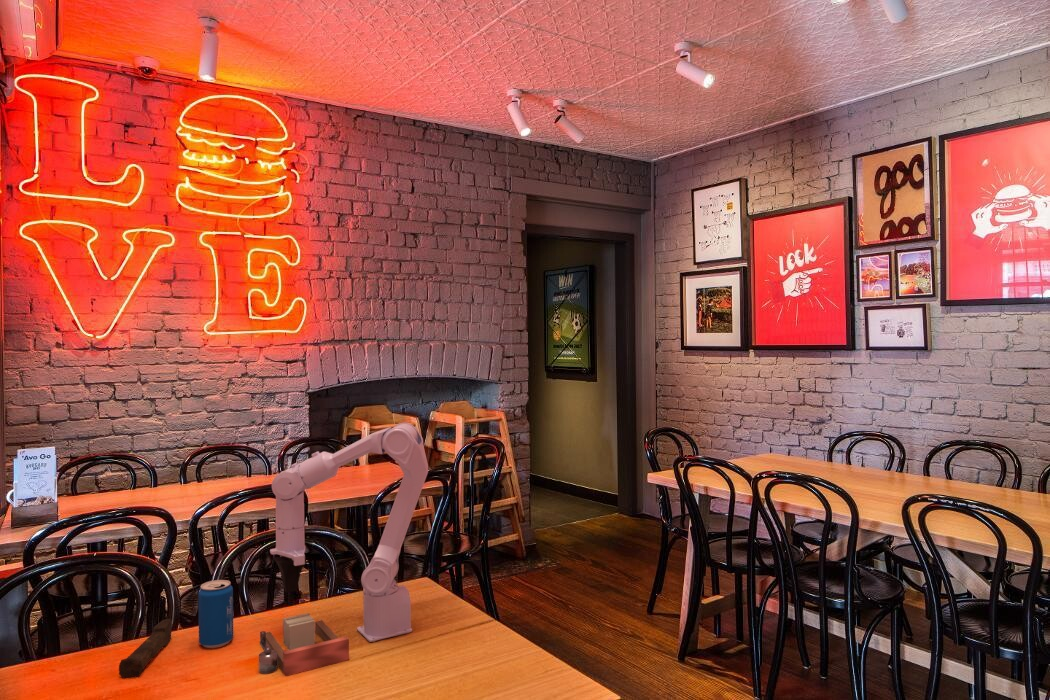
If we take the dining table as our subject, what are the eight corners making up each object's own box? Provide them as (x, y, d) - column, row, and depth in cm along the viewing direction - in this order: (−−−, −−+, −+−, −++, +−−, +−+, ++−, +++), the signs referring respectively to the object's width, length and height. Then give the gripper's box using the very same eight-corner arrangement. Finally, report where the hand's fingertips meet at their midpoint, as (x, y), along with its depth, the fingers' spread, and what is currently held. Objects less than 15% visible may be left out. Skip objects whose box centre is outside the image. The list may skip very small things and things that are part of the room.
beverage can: (220, 650, 139) (219, 590, 139) (191, 648, 140) (191, 588, 140) (240, 637, 145) (239, 580, 145) (212, 635, 147) (211, 578, 147)
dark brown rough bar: (140, 679, 128) (140, 654, 128) (117, 680, 128) (118, 654, 128) (184, 637, 147) (184, 615, 147) (164, 637, 146) (164, 615, 146)
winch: (271, 658, 135) (270, 629, 135) (279, 670, 130) (278, 640, 130) (253, 662, 133) (253, 633, 133) (261, 675, 128) (260, 644, 128)
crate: (308, 637, 145) (307, 612, 145) (315, 645, 141) (314, 619, 141) (283, 642, 143) (283, 617, 143) (289, 651, 139) (289, 625, 139)
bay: (321, 629, 149) (321, 610, 149) (349, 659, 134) (348, 638, 134) (263, 642, 143) (263, 623, 142) (285, 676, 128) (284, 654, 128)
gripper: (262, 522, 151) (263, 584, 151) (279, 537, 139) (279, 605, 139) (295, 517, 155) (296, 578, 155) (314, 531, 143) (315, 598, 143)
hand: (290, 590), depth 147 cm, fingers closed
